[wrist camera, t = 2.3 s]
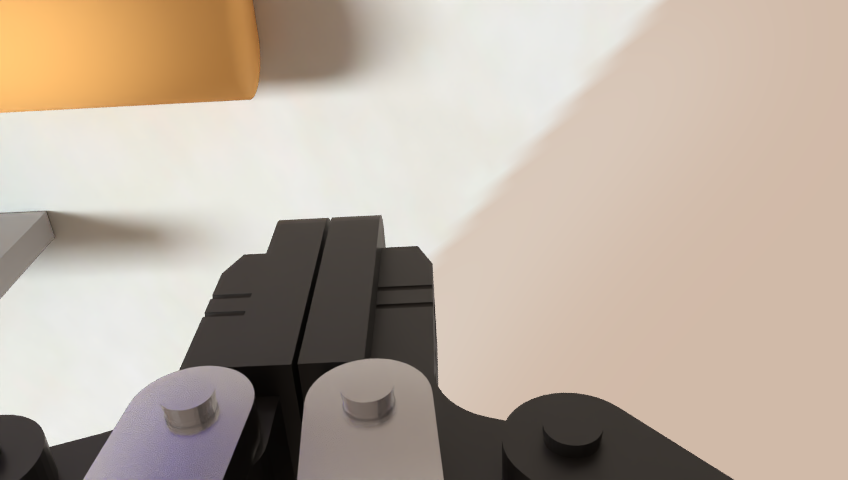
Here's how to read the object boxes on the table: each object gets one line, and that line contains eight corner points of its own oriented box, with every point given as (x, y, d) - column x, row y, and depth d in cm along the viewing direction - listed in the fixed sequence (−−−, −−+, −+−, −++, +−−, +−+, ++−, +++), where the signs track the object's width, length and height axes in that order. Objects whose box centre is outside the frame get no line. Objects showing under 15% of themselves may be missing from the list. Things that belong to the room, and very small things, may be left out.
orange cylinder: (257, -11, 24) (221, -57, 20) (262, 110, 23) (227, 84, 20) (-5, 5, 24) (-86, -39, 20) (0, 123, 24) (-82, 101, 20)
